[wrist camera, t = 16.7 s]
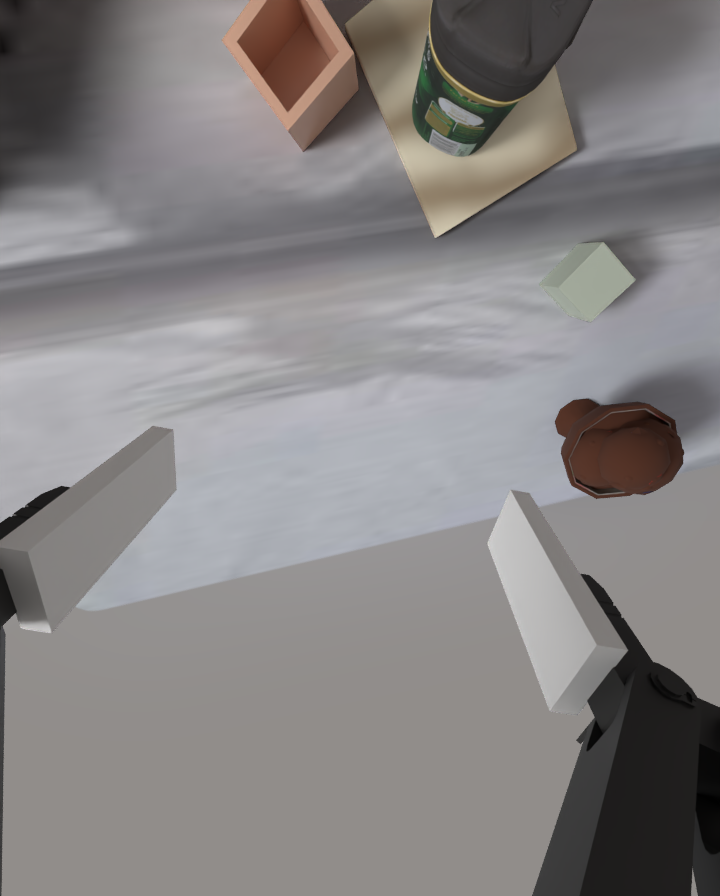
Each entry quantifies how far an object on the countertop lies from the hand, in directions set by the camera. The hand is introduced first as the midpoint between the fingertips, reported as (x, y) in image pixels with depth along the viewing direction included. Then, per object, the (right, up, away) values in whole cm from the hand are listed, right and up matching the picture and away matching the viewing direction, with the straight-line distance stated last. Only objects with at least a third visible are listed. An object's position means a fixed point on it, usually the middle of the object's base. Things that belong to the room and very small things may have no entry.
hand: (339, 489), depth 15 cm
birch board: (+10, +33, +19) cm, 40 cm away
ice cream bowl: (+28, +5, +33) cm, 43 cm away
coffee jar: (+10, +33, +18) cm, 39 cm away
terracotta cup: (-4, +35, +20) cm, 40 cm away
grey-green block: (+24, +20, +26) cm, 40 cm away
